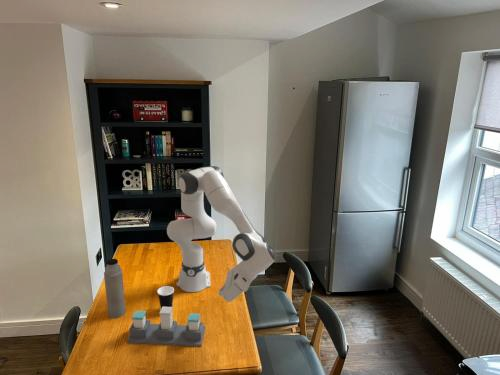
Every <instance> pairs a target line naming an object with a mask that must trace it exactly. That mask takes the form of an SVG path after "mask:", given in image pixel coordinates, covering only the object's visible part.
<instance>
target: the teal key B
mask: <svg viewBox="0 0 500 375" xmlns="http://www.w3.org/2000/svg"><path fill="white" fill-rule="evenodd" d="M200 319H201V313H192V312H191V313H189V315H188V318H187V323H188V322H189V331H199V329H200V322H201V320H200Z"/></svg>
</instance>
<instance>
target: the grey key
mask: <svg viewBox="0 0 500 375" xmlns="http://www.w3.org/2000/svg"><path fill="white" fill-rule="evenodd" d="M173 310H174V307H173V306H172V307H162V309H161V308H160V311H159V316H160V322H161V329H167V330H171V328H172V325H173V321H174V320H173Z"/></svg>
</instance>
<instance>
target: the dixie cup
mask: <svg viewBox="0 0 500 375" xmlns="http://www.w3.org/2000/svg"><path fill="white" fill-rule="evenodd" d="M174 292H175V289H174V287H173V286H169V285H167V286H165V285H163V286H162V287H159V288H158V289H157V292H156V293H157V296H158V301H159V306H160V310H161V309H162V307H173V301H174V300H173V299H174Z"/></svg>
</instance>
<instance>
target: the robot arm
mask: <svg viewBox="0 0 500 375" xmlns="http://www.w3.org/2000/svg"><path fill="white" fill-rule="evenodd" d="M224 177H225V176H224V173H223V171H222V169H221V168H220V167H219V166H217V165H211V166H205V167H204V166H203V167H199V168H196V169H192V170H190V171H189V170H188V171H185V172H183V173H180V175H179V176H178V178H177V184H178V188H179V190H180V195H181V196H180V199H181V200H180V201H181V202H180V204H181V211H182V212H183V214H184V215H186V216H188V217H190V218H181V219H179V218H178V219H176V220H171V221H170V222H169V223H168V225H167V227H166V234H167V236H168V238H169V239H170V240H171V241H173V242H175V243H176V244H177V245H178V246H179V248H180V251H181V258H182V262H181V270H180V271H179V274H178V275H179V277H178V281H176V284H175V285H176V286H177V287H179V288H180V290H182V291H184V292H187V293H197V292H200V291H201V292H202V291H203V290H204V289H206V288H209V287H211V274H210V271H208V270H206V269H207V268H206V265H205V261H204V248H203V247H202V246H201V245H200V244H198V243H196V242H193V241H192V240H198V239H206V238H210V237H213V236H215V235H216V232H217V230H218V229H217V228H218V227H217V226H218V225H217V222H216V221H215V219H214V218H212V217H211V216H209V215H208V214H207V212H206V210H205V205H204V204H205V202H204V195H205V196H206V199H207V201H208V202H209V205H210V206H211V207H212V208H213V209H214V211H215V212H217V213H218V214H220V215H223V216H225V217H226V218H228V219H230V221H231V222H232V223H233V224H234V225H235V227H236V229H237V231H238V232H239V233H238V234H236V235H235V236H234V238H233V240H232V244H231V245H232V250H233V252H234V253H235V254H236V255H237V256H238V257H239V258H240V259H241V261H240V262H239V263H238V264H236V265H234V266H233V267H231V268H230V269H229V270H228V271H227V273H226V278H225V282H224V283H223V285H222V287H221V288H220V289H219V290H218V294H217V295H218V296H220V297H222V298H223V299H224V300H225V301H226V302H227V303H231V302H233V301H234V300H235V299H236V298H238V297H239V296H241V295H242V293H243V292H244V293H245V292H247V291H248V290H249V289H250V288H249V287H250V286H251V283H252V282H253V280H255V279H256V278H257V277H258V276H259V275H260V274H261V273H263V272H264V271H266V270H267V269H268V268H269V267H270V266H271V265H272V264H273V263H274V262H275V260H276V253H275V252H276V251H275V249H274V248H273V246H272V245H271V244H270V243H269V242H268V243H267V241H266V239H265V237H264V236H263V235H262V234H260V233H259V231H257V230H256V229H255V228H254V226H253V225H252V223H251V221H250V219H249V218H248V216H247V215H246V213H245V211H244V210H243V209H242V207H241V206H240V203H239V202H238V200H237V198H236V197H235V195H234V193H233V190H232V189H231V187H230V186H229V184H228V182H227V180H226V179H225V178H224Z"/></svg>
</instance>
